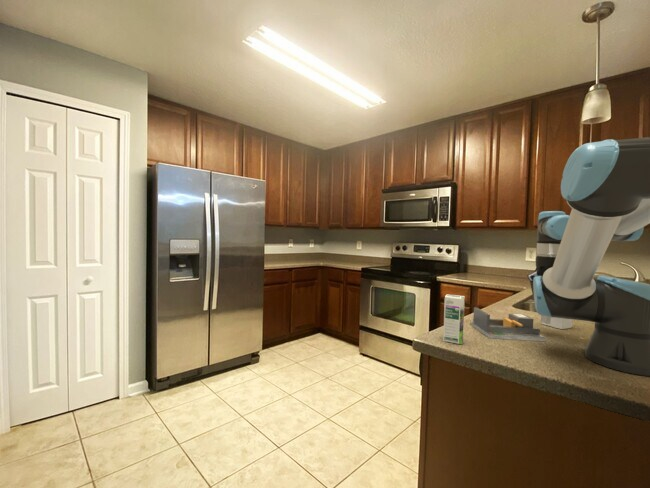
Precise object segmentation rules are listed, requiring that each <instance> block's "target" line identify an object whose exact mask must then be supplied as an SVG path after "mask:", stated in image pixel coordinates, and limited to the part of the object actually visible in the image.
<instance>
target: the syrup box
mask: <svg viewBox="0 0 650 488" xmlns="http://www.w3.org/2000/svg"><path fill="white" fill-rule="evenodd" d="M465 301H466V297H465V295H458V294H457V295H456V294H448V293H447V294H446V295H445V296H444V303H443V305H444V306H443V307H444V308H443V310H444V311H443V335H442V341H443V342H445V343H452V344H458V345H463V340H464V327H465V326H464V325H465V324H464V323H465Z"/></svg>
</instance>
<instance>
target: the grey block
mask: <svg viewBox="0 0 650 488" xmlns="http://www.w3.org/2000/svg"><path fill="white" fill-rule="evenodd" d="M507 318H508V319H510V320H514V321H516V322H518V323H520V324H522V325H523V327H525V328H534V318H532V317H530V316H528V315H526V314H522V313H508V316H507ZM516 327H520V326H518V325H517V324H516Z"/></svg>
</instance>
